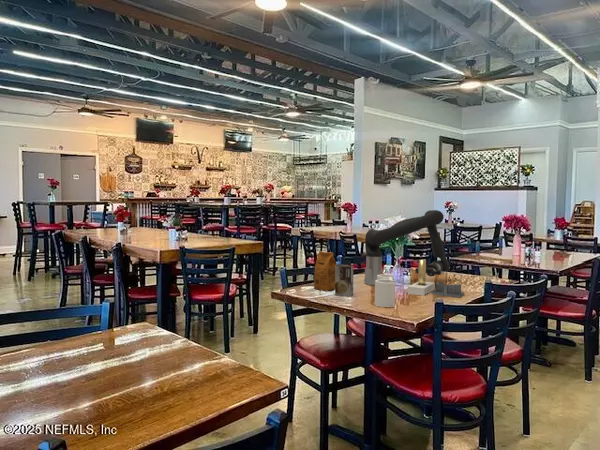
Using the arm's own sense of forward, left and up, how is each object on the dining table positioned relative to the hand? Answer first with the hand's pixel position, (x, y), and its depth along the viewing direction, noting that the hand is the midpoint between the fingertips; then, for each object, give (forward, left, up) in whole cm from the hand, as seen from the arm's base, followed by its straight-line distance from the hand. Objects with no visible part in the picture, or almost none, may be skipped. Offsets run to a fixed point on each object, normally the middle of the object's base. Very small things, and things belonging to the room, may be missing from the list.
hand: (424, 272), depth 263 cm
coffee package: (-54, +20, -10) cm, 58 cm away
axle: (-4, -3, -10) cm, 11 cm away
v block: (+5, -14, -10) cm, 18 cm away
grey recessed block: (-4, -3, -10) cm, 11 cm away
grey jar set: (-38, -18, -10) cm, 43 cm away
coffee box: (-50, +3, -10) cm, 51 cm away
